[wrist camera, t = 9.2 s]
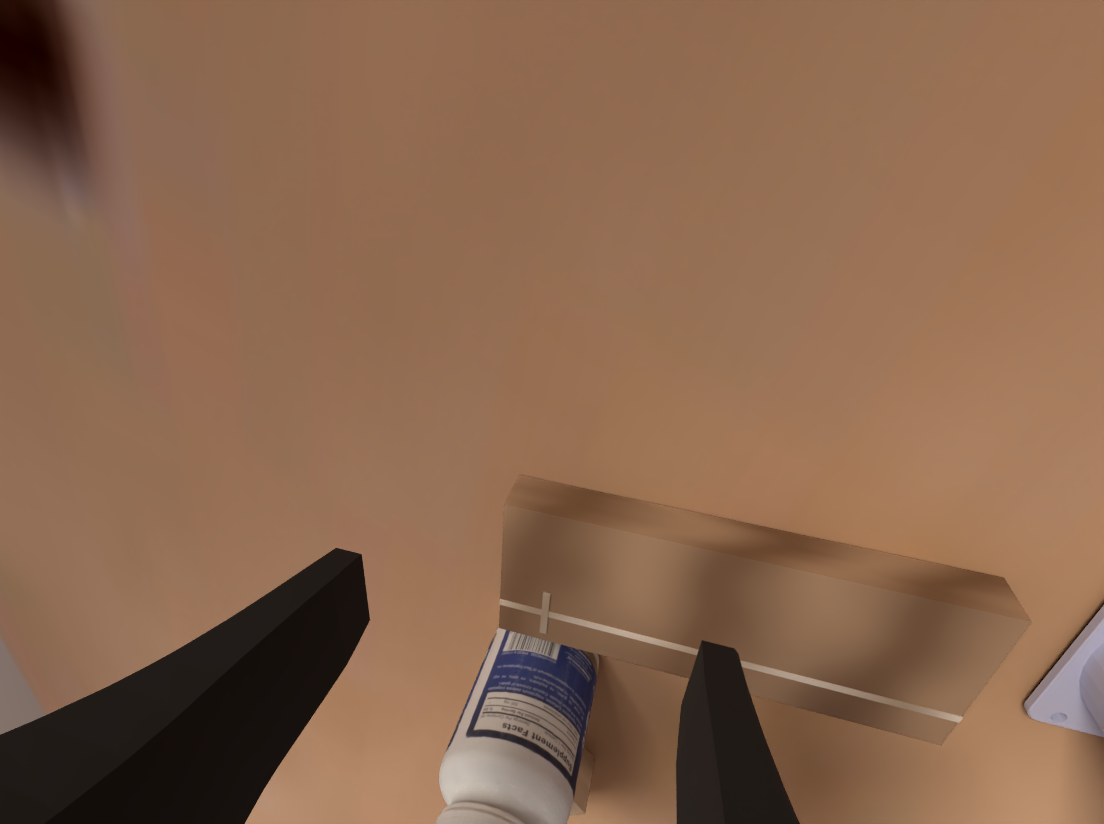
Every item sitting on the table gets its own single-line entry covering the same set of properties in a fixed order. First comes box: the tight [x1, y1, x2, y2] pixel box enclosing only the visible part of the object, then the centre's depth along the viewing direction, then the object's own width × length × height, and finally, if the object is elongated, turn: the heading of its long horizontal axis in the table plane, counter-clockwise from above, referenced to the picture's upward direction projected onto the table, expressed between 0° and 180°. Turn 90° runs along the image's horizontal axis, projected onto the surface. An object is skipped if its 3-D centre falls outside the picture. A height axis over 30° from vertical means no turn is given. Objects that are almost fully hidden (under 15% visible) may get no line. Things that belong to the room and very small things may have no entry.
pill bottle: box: [436, 627, 599, 824], centre depth 23 cm, size 5×5×10 cm
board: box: [499, 475, 1032, 745], centre depth 22 cm, size 18×7×2 cm, turn 85°
